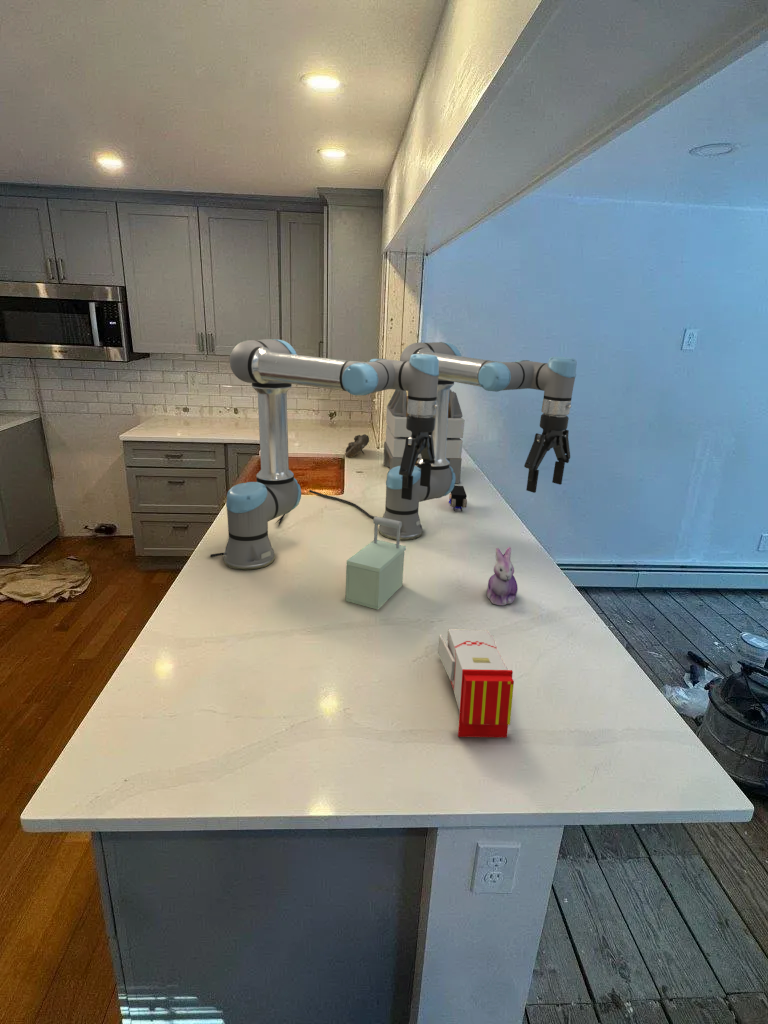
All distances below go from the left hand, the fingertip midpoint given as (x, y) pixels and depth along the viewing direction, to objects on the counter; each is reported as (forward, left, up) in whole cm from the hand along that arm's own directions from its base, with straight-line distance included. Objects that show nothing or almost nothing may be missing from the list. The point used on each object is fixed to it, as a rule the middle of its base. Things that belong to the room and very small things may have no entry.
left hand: (416, 492), depth 156 cm
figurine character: (-9, +70, -27) cm, 76 cm away
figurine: (+26, +3, -27) cm, 38 cm away
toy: (+31, -41, -27) cm, 58 cm away
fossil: (-84, +126, -27) cm, 154 cm away
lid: (-6, -11, -17) cm, 21 cm away
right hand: (+31, +24, 0) cm, 39 cm away
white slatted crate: (-41, +109, -27) cm, 120 cm away
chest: (-6, -12, -27) cm, 30 cm away
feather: (-62, +27, -27) cm, 73 cm away
